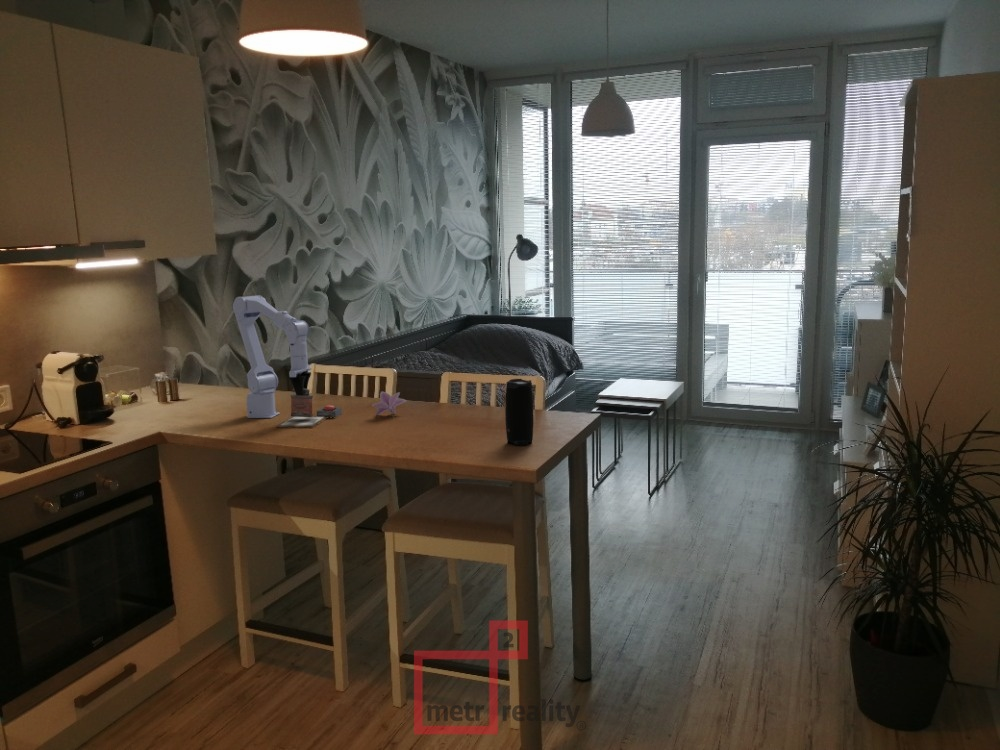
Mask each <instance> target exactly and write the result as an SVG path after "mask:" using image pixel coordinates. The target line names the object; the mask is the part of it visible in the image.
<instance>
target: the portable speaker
mask: <svg viewBox="0 0 1000 750" xmlns="http://www.w3.org/2000/svg"><path fill="white" fill-rule="evenodd" d="M532 385H533V382H532V380H531V379H530V380H526V379H522V378H512V379H509V380H507V381H506V387H505V398H504V399H505V400H504V402H505V407H504V409H505V418H504V419H505V431H506V432H505V433H506V440H507V444H510V443H512V444H513V445H514V446H517V447H519V446H520V447H522V446H523V445H524V446H527V445H528V444H529V443H532V442H533V439H534V437H533V435H534V424H535V423H534V396H533V388H532Z"/></svg>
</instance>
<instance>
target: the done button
mask: <svg viewBox="0 0 1000 750" xmlns="http://www.w3.org/2000/svg"><path fill="white" fill-rule="evenodd" d="M323 407H324V410H330V411H333V410H334V407H335V405H334V404H329V405H328V404H327V405H324V406H323Z"/></svg>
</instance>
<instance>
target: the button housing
mask: <svg viewBox="0 0 1000 750" xmlns="http://www.w3.org/2000/svg"><path fill="white" fill-rule="evenodd" d="M342 410H343V407H341V406H334V410H333V411H330V410H324V406H322V407H321V408H320V409H318V410H316V416H328V417H337V416H338V417H340V416H341V415H342V414H343V411H342ZM340 414H341V415H340ZM339 415H340V416H339ZM338 417H337V418H338Z"/></svg>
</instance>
